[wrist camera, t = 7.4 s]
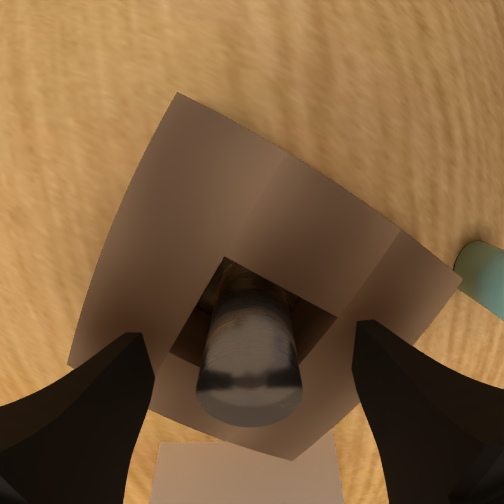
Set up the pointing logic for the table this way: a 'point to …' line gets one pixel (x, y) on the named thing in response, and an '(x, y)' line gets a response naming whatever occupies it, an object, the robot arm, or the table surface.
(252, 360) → the tall pin
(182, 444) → the milk
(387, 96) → the table surface
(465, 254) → the short pin
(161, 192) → the hole block
